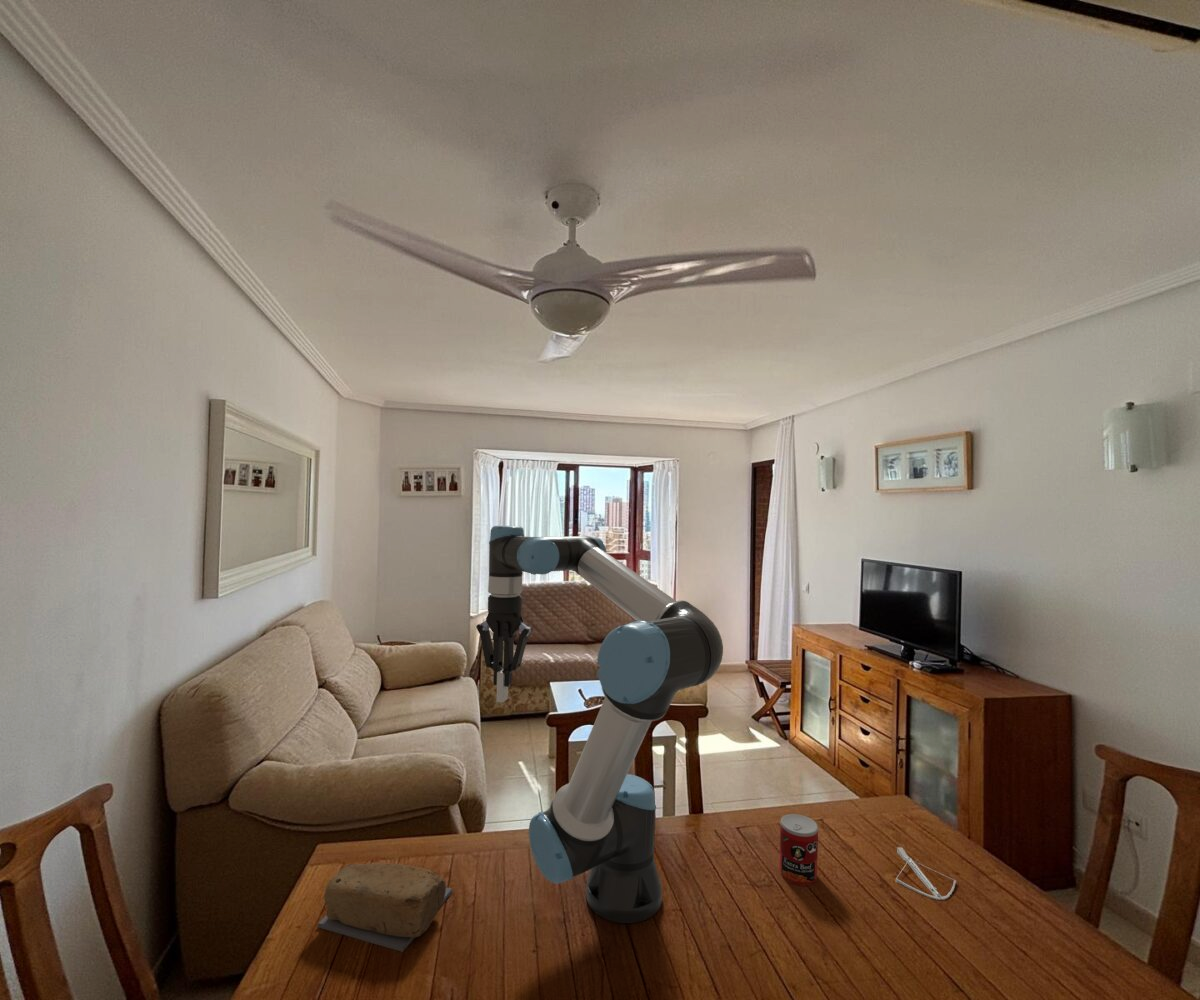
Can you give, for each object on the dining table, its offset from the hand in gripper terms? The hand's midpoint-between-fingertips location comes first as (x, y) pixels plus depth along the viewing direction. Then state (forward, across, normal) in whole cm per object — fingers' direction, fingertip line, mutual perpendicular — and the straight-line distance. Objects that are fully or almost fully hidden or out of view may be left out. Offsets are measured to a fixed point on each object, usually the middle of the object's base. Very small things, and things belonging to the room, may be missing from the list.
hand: (502, 700), depth 127 cm
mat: (+34, +12, +22) cm, 43 cm away
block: (+30, +1, +24) cm, 38 cm away
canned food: (+35, -64, -15) cm, 74 cm away
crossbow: (+35, -89, -24) cm, 99 cm away
